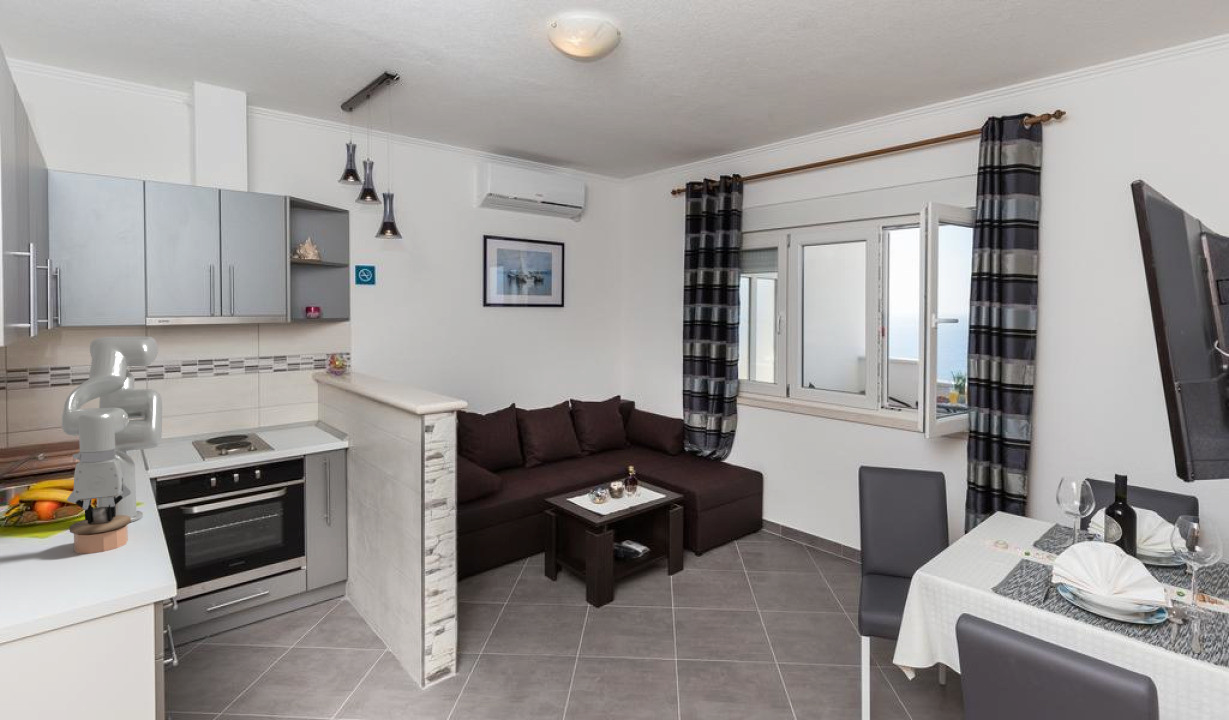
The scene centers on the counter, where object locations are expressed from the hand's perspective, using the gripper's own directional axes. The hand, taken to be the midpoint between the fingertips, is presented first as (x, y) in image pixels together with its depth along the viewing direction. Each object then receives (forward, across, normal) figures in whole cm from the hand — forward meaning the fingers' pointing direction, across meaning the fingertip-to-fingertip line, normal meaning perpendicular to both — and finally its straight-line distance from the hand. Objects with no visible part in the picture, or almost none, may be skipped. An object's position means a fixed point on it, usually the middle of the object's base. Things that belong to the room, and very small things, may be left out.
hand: (100, 520), depth 168 cm
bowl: (+7, 0, 0) cm, 7 cm away
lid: (+2, 0, 0) cm, 2 cm away
